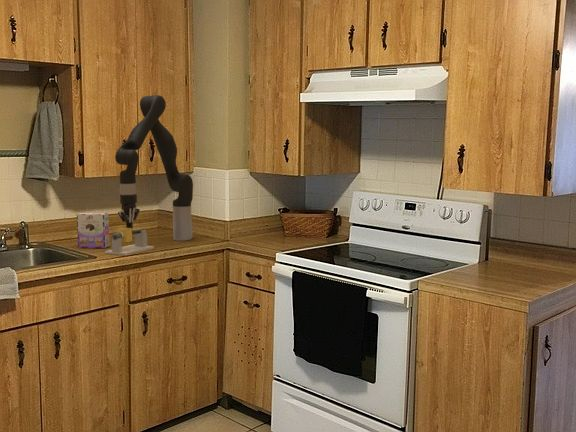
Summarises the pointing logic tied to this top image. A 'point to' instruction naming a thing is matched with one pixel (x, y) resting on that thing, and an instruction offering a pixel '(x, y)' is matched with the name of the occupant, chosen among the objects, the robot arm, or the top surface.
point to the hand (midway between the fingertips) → (129, 230)
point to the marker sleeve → (126, 234)
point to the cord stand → (131, 249)
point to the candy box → (93, 230)
